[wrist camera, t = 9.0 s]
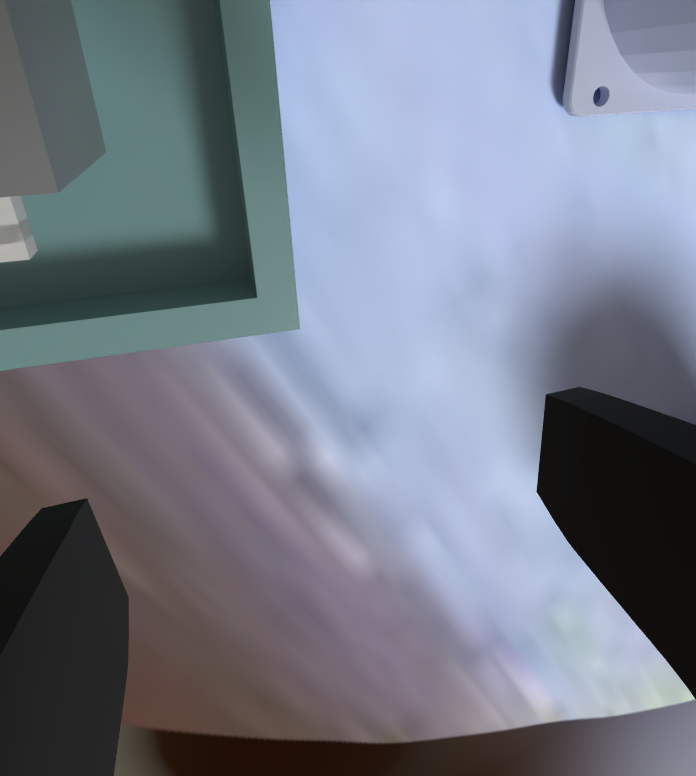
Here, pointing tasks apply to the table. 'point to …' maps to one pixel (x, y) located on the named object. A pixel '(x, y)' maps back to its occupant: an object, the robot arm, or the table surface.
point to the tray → (162, 193)
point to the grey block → (41, 113)
